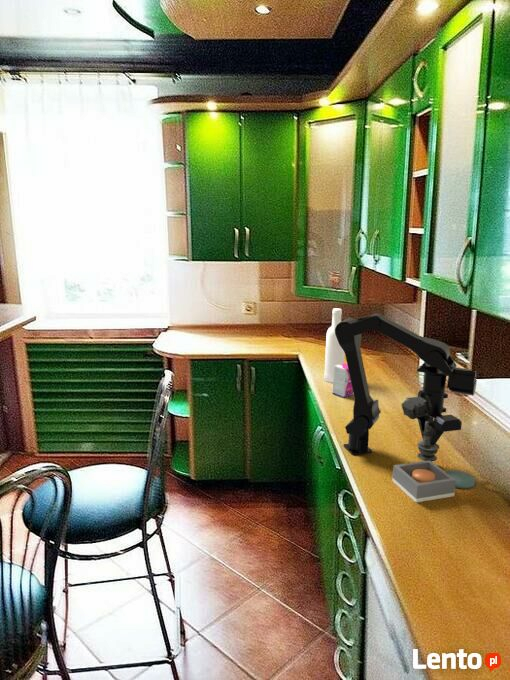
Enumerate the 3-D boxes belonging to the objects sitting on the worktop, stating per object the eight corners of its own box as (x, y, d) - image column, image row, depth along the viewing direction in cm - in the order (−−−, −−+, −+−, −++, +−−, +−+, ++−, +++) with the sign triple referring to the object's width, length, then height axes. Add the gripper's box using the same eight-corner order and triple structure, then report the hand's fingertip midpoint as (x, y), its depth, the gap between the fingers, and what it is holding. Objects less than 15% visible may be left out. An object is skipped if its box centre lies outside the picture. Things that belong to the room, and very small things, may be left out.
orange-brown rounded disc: (407, 474, 139) (408, 470, 139) (426, 471, 141) (426, 467, 141) (420, 485, 134) (420, 480, 134) (439, 482, 136) (439, 478, 135)
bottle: (322, 381, 221) (325, 310, 214) (326, 376, 228) (329, 306, 221) (341, 384, 218) (345, 311, 211) (344, 378, 226) (348, 308, 218)
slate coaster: (434, 475, 145) (435, 472, 145) (461, 471, 148) (461, 468, 147) (454, 490, 137) (454, 487, 137) (481, 486, 140) (482, 483, 140)
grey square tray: (392, 480, 142) (393, 465, 141) (428, 475, 145) (429, 460, 144) (415, 502, 132) (417, 485, 130) (454, 496, 135) (456, 479, 134)
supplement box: (343, 398, 202) (345, 369, 200) (332, 394, 207) (333, 365, 204) (353, 395, 206) (355, 366, 203) (342, 390, 210) (343, 362, 208)
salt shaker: (433, 452, 153) (437, 413, 150) (441, 462, 148) (445, 421, 145) (413, 452, 153) (416, 413, 150) (420, 462, 147) (424, 421, 144)
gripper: (389, 380, 152) (385, 431, 155) (428, 403, 134) (422, 460, 138) (423, 377, 155) (418, 427, 159) (466, 399, 138) (459, 455, 141)
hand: (428, 442), depth 149 cm, fingers closed on salt shaker, 3 cm apart
